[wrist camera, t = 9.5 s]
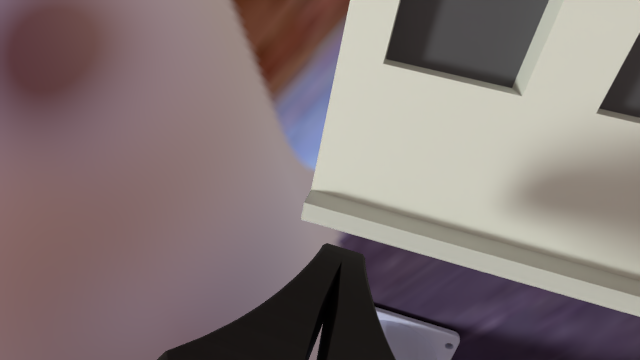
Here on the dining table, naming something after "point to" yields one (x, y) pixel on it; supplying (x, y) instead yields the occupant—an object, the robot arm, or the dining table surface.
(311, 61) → the dining table surface
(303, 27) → the dining table surface
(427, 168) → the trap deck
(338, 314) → the robot arm
